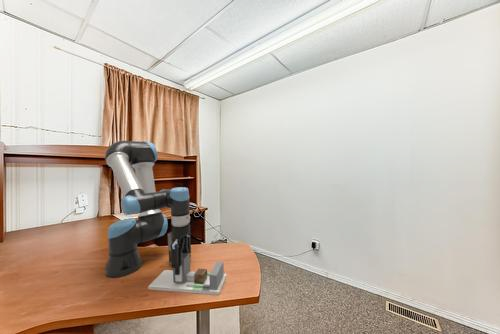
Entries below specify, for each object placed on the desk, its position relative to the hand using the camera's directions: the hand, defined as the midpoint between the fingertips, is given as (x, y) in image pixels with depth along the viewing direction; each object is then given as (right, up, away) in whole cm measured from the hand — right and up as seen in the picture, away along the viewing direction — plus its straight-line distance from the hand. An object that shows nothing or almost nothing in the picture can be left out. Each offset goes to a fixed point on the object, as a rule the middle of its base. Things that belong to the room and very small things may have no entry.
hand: (182, 276), depth 85 cm
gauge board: (+3, -3, 0) cm, 4 cm away
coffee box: (-7, -2, +16) cm, 18 cm away
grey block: (+2, -1, 0) cm, 2 cm away
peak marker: (+8, -1, -1) cm, 8 cm away
